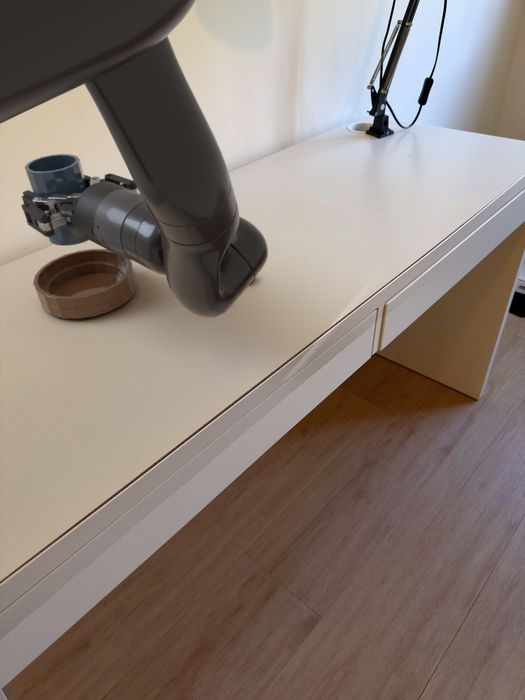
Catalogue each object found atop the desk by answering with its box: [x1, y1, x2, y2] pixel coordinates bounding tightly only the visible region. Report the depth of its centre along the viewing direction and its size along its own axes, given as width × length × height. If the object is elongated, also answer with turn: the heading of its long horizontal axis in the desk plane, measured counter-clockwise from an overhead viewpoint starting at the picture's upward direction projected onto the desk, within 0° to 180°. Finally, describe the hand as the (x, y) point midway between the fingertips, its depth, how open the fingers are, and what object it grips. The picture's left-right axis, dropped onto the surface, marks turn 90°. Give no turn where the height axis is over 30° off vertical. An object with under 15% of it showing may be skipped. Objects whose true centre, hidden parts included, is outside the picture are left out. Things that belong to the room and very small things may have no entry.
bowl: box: [32, 248, 137, 320], centre depth 79 cm, size 14×14×4 cm
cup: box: [24, 153, 90, 247], centre depth 70 cm, size 7×7×10 cm
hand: (52, 189), depth 71 cm, fingers closed on cup, 7 cm apart
